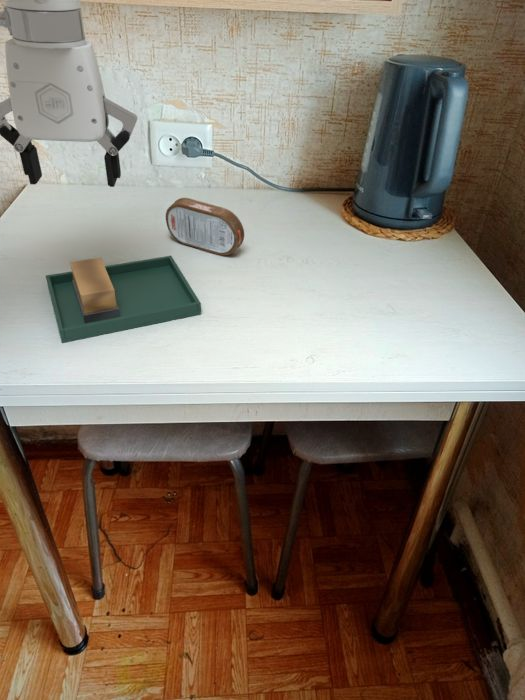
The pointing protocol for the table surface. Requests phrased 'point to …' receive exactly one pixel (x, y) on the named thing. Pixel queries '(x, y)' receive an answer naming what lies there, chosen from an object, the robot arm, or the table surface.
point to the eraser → (94, 290)
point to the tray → (127, 298)
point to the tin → (204, 226)
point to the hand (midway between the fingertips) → (75, 181)
